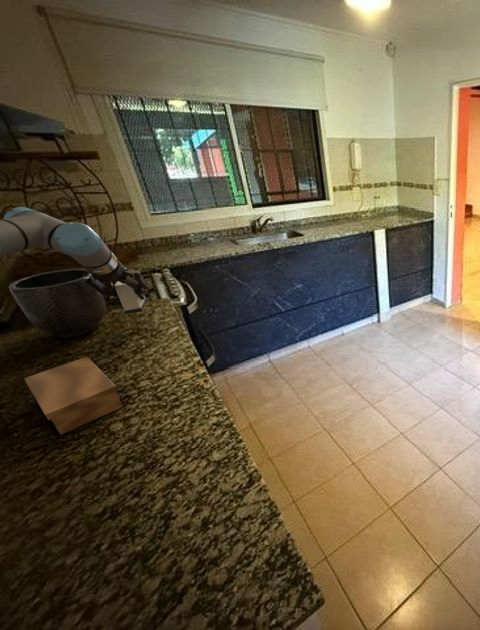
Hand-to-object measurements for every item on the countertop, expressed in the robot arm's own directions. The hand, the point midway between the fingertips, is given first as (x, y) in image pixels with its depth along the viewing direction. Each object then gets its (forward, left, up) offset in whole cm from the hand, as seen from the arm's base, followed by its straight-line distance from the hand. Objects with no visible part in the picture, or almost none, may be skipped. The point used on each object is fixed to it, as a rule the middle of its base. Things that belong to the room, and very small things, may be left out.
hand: (133, 297), depth 117 cm
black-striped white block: (+1, 0, -3) cm, 3 cm away
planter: (-10, -17, -11) cm, 22 cm away
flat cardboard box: (+40, -19, -10) cm, 45 cm away
